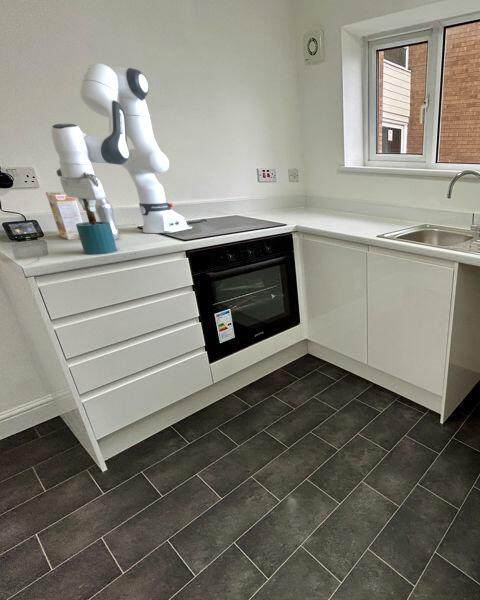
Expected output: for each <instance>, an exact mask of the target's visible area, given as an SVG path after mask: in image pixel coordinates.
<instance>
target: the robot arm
mask: <svg viewBox="0 0 480 600" xmlns="http://www.w3.org/2000/svg"><path fill="white" fill-rule="evenodd" d="M149 90H150V85H149V82H148V79H147V77H146V76H145V75H144V73H143V72H142V71H140V70H139V69H136V68H132V67H123V66H116V65H112V66H108V65H106V64H104V63H102V62H92V63H90V64H89V65H88V66H87V68H86V70H85V71H84V74H83V76H82V80H81V84H80V89H79V92H80V93H79V94H80V98H81V100H82V102H83V103H84V104H85V105H86V107H87V108H88V109H90V110H91V111H92V112H94V113H96V114H98V115H100V116H103V117H105V118H108V128H109V129H108V131H109V132H108V134H106V135H88V134H87V133H85V132H83V131H82V130H81V128H80V126H79V125H78V124H74V123H55V124H53V125H52V126H51V128H50V129H51V131H50V132H51V139H52V143H53V147H54V150H55V152H56V154H57V155H58V159H59V165H60V166H59V168H58V169H56V176H57V177H58V178H59V181H60V184H61V188H62V190H63V192H65V194H66V195H67V196H68V197H74V198H76V199H77V200H78V203H79V204H80V205H81V208H82V210H83V211H86V210H85V206H84V203H83V200H82V199H86V200H87V202H88V206H87V207H88V210H89V211H94V212H96V209H95V203H96V200H105V196H106V193H105V190H104V187H103V184H102V182H101V181H100V179H98V177H97V176H96V175H95V171H94V167H93V163H95V164H110V165H119V166H122V168H124V169H125V170H126V171H127V172H128V174H129V176H130V178H131V179H132V181H133V183H134V185H135V188H136V191H137V192H136V193H137V196H138V200H139V203H138V206H139V211H140V213H141V215H142V233H144V234H172V233H177V232H181V231H186V230H192V229H193V225H190V224H199V223H202V222H203V221H204V222H208V221H207V219H205V218H202V219H200V220H198V221H188V222H187V220H186V218H185V216H183V215H182V214H179V213H178V212H176V211H174V210H173V209H172V208H175V206H176V204H175V203H173V202H172V203H171V202H170V203H169V202H167V199H166V193H165V189H164V186H163V185H162V184H161V182H159V180H158V179H157V177H156V175H159V174H162V173H165V172H167V171H168V170H169V168H170V160H169V158H168V156H167V155H166V154H165V153H164V152H163V151H162V150H161V149H160V147H159V145H158V142H157V140H156V138H155V135H154V130H153V125H152V119H151V115H150V111H149V108H148V105H147V101H146V98H147V96H148V93H149ZM128 139H129V140H130V141H131V144H132V145H133V148H129V145H128Z"/></svg>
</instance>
